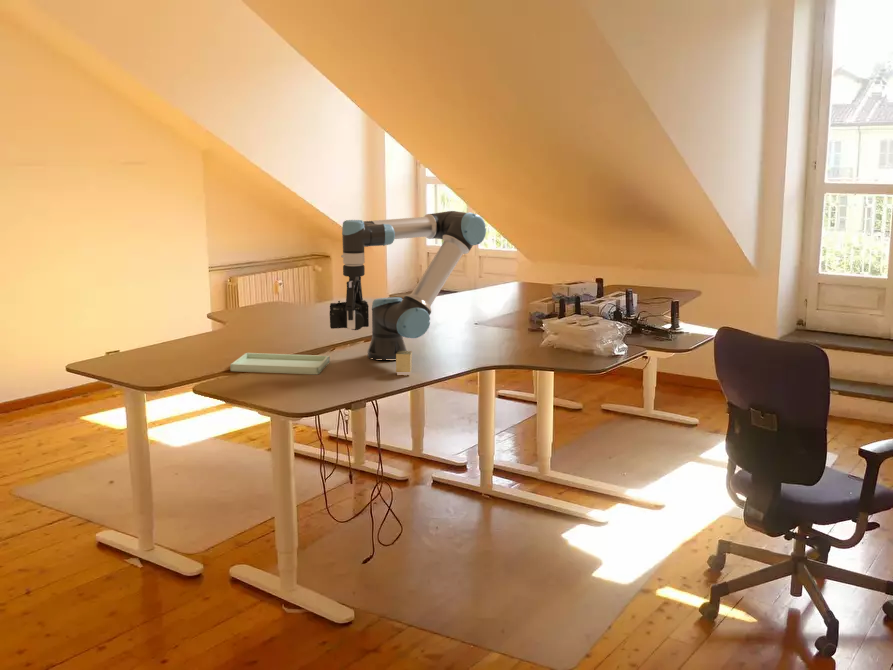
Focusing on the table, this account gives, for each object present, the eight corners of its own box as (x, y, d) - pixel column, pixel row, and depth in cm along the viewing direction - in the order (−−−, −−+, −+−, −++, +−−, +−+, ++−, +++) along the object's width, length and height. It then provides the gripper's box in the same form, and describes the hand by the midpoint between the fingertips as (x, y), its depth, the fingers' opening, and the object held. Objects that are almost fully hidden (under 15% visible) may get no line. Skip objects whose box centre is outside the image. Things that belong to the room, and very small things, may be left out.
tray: (246, 359, 334) (246, 352, 333) (329, 362, 331) (329, 355, 330) (230, 371, 316) (230, 364, 315) (318, 374, 313) (318, 367, 313)
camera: (332, 333, 307) (331, 304, 305) (329, 326, 317) (328, 299, 315) (372, 331, 310) (371, 303, 308) (367, 325, 320) (367, 298, 318)
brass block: (398, 372, 318) (398, 350, 316) (411, 372, 318) (412, 351, 316) (396, 375, 313) (396, 353, 312) (410, 376, 313) (410, 354, 311)
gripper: (349, 259, 321) (350, 318, 325) (335, 269, 298) (337, 332, 302) (370, 260, 320) (371, 318, 325) (357, 269, 297) (358, 332, 302)
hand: (354, 325), depth 314 cm, fingers closed on camera, 12 cm apart
